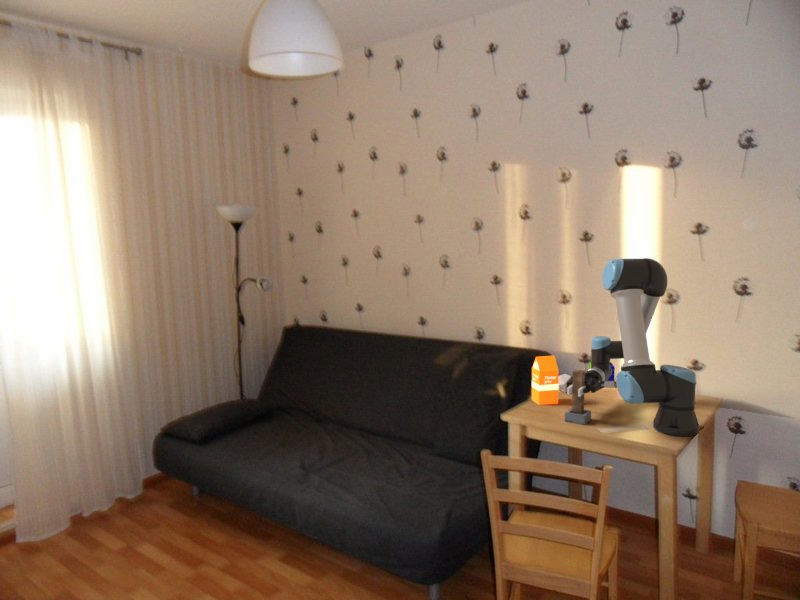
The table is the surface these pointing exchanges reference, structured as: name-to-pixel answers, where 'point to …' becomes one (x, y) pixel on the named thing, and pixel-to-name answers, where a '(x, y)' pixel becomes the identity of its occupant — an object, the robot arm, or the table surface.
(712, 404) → the table surface
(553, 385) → the orange juice
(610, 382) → the puzzle toy
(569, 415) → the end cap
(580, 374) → the brown rectangular block
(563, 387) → the crumpled paper ball
